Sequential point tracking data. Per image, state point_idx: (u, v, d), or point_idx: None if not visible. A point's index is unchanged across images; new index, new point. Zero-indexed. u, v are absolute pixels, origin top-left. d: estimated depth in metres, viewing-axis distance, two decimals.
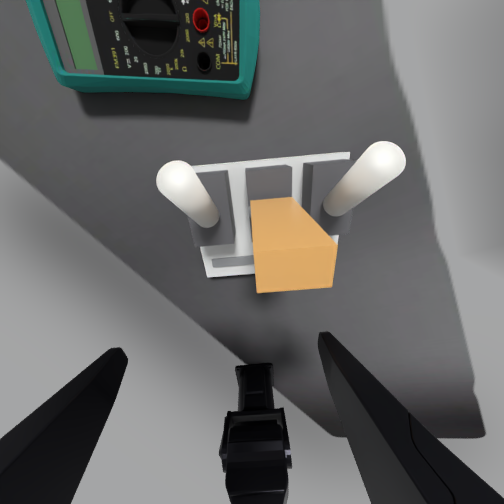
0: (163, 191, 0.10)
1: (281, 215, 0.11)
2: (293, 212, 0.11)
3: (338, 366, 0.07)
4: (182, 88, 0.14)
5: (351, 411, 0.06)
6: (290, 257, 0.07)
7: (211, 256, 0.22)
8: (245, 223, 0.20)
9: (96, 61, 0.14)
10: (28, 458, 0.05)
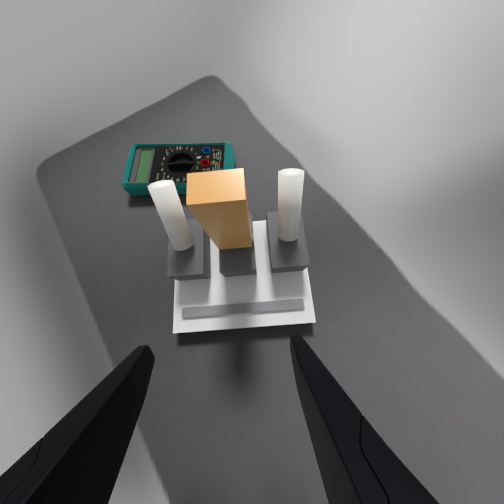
0: (149, 187, 0.15)
1: None
2: None
3: (302, 369, 0.07)
4: None
5: (312, 414, 0.06)
6: (211, 176, 0.11)
7: (182, 305, 0.21)
8: None
9: (147, 179, 0.26)
10: (72, 456, 0.05)
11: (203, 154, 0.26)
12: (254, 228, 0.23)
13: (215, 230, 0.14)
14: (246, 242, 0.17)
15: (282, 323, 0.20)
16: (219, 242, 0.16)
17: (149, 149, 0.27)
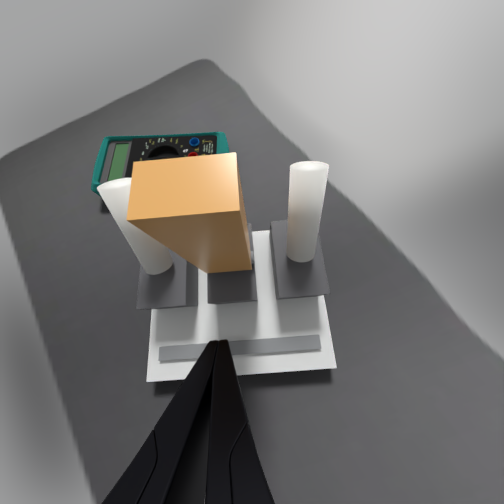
0: (99, 188, 0.10)
1: None
2: None
3: (212, 375, 0.07)
4: None
5: None
6: (178, 167, 0.06)
7: (160, 342, 0.16)
8: None
9: None
10: (185, 448, 0.05)
11: (191, 146, 0.21)
12: (254, 240, 0.18)
13: (195, 253, 0.09)
14: (243, 265, 0.12)
15: (292, 369, 0.15)
16: (205, 266, 0.12)
17: (125, 142, 0.22)
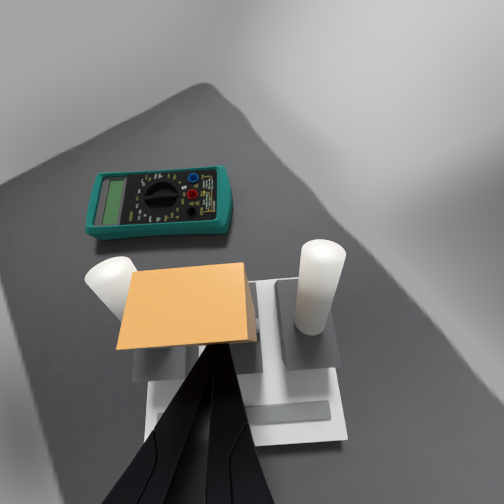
0: (87, 279, 0.09)
1: None
2: None
3: (212, 375, 0.07)
4: (174, 228, 0.19)
5: None
6: (180, 280, 0.05)
7: (158, 408, 0.15)
8: None
9: (118, 219, 0.20)
10: (185, 448, 0.05)
11: (190, 183, 0.20)
12: (258, 291, 0.17)
13: (195, 345, 0.08)
14: None
15: (300, 440, 0.14)
16: None
17: (120, 178, 0.21)
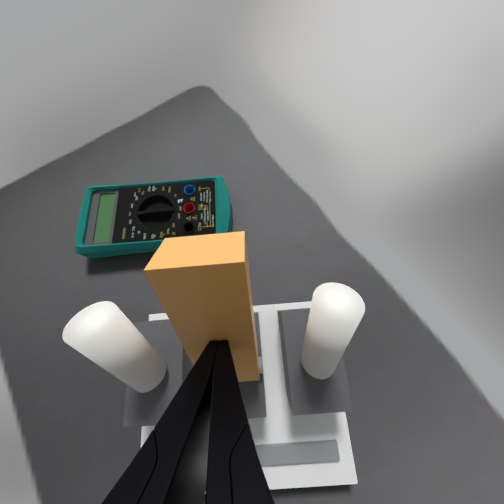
0: (65, 335, 0.08)
1: None
2: None
3: (213, 375, 0.07)
4: None
5: None
6: (198, 239, 0.07)
7: None
8: None
9: (110, 237, 0.18)
10: (185, 448, 0.05)
11: (186, 195, 0.19)
12: (261, 317, 0.16)
13: (196, 335, 0.08)
14: (249, 368, 0.10)
15: (306, 484, 0.13)
16: None
17: (111, 192, 0.19)
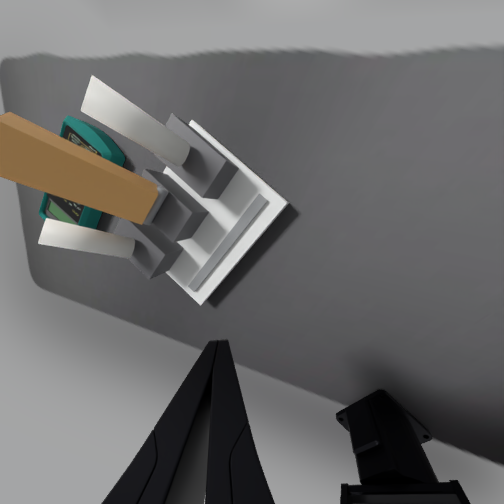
0: (38, 242, 0.14)
1: None
2: None
3: (213, 375, 0.07)
4: None
5: None
6: None
7: (187, 283, 0.22)
8: None
9: (75, 223, 0.25)
10: (185, 448, 0.05)
11: None
12: (171, 175, 0.20)
13: (72, 191, 0.13)
14: (136, 190, 0.15)
15: (262, 230, 0.18)
16: (116, 210, 0.15)
17: (48, 202, 0.25)
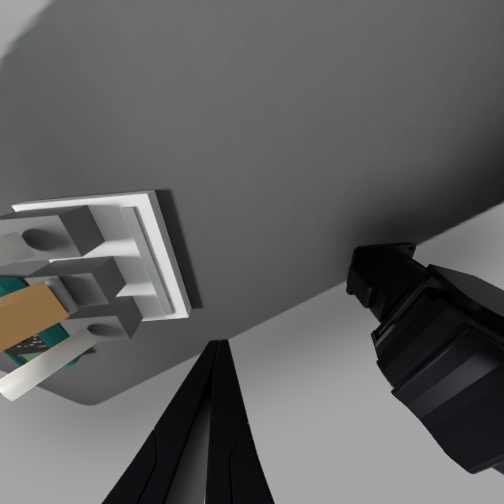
0: (11, 399, 0.15)
1: None
2: None
3: (213, 375, 0.07)
4: None
5: None
6: None
7: (163, 313, 0.23)
8: None
9: None
10: (185, 448, 0.05)
11: None
12: (57, 258, 0.19)
13: None
14: (27, 303, 0.15)
15: (158, 230, 0.18)
16: (35, 328, 0.15)
17: (21, 357, 0.26)
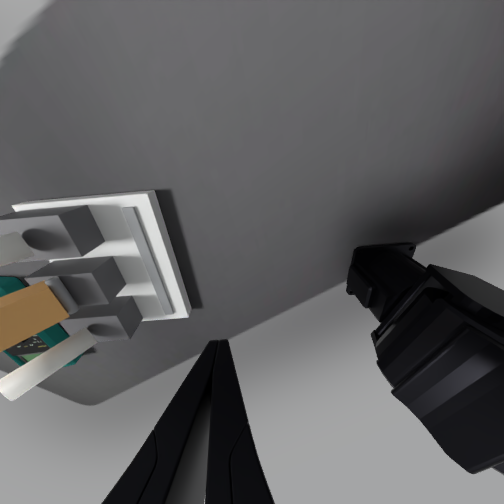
0: (11, 399, 0.15)
1: None
2: None
3: (213, 375, 0.07)
4: None
5: None
6: None
7: (163, 313, 0.23)
8: None
9: None
10: (185, 448, 0.05)
11: None
12: (57, 258, 0.19)
13: None
14: (27, 303, 0.15)
15: (157, 230, 0.18)
16: (35, 328, 0.15)
17: (21, 358, 0.26)
